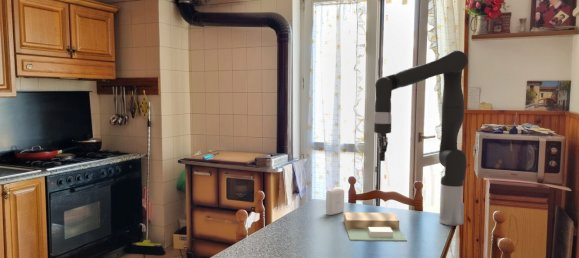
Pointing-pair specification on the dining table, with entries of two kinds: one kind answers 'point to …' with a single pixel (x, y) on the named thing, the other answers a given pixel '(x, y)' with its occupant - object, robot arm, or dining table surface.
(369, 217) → the board
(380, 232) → the cream tile
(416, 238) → the dining table surface
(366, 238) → the sage mat
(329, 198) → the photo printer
